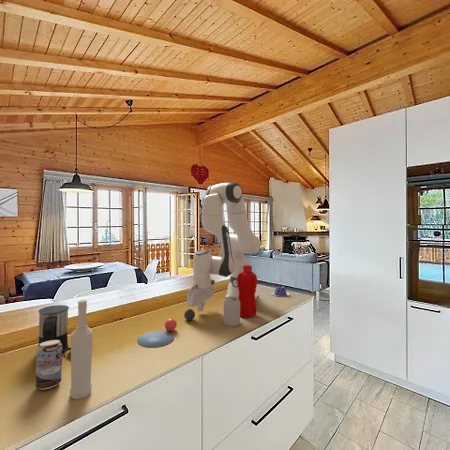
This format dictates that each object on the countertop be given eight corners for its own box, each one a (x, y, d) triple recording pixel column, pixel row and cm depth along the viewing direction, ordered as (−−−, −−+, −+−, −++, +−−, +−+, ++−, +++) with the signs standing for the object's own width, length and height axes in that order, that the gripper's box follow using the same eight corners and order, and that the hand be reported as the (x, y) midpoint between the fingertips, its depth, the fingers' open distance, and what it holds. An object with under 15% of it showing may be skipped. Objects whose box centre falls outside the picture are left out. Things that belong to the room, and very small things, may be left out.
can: (238, 328, 118) (239, 301, 118) (221, 326, 119) (222, 299, 119) (240, 321, 125) (241, 296, 125) (225, 320, 127) (225, 295, 127)
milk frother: (36, 349, 95) (36, 307, 94) (85, 337, 105) (85, 299, 104) (40, 367, 84) (41, 320, 83) (94, 352, 94) (95, 310, 94)
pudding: (293, 297, 170) (293, 288, 170) (276, 298, 166) (276, 289, 166) (283, 291, 182) (284, 284, 181) (267, 292, 178) (268, 285, 178)
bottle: (66, 395, 71) (67, 301, 70) (85, 385, 75) (86, 296, 75) (76, 402, 68) (77, 305, 68) (95, 392, 72) (97, 300, 72)
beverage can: (35, 396, 70) (35, 351, 70) (35, 382, 76) (35, 340, 76) (63, 388, 74) (63, 345, 74) (60, 375, 80) (61, 335, 80)
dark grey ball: (188, 317, 129) (188, 307, 129) (196, 319, 127) (197, 308, 127) (181, 320, 125) (182, 310, 124) (190, 322, 122) (191, 312, 122)
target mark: (154, 328, 115) (154, 328, 115) (181, 336, 108) (181, 335, 108) (129, 341, 102) (129, 341, 102) (157, 350, 96) (157, 350, 96)
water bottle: (247, 320, 127) (249, 268, 126) (233, 313, 136) (234, 264, 135) (261, 317, 132) (263, 266, 132) (247, 310, 141) (248, 263, 141)
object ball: (169, 327, 117) (169, 316, 116) (178, 329, 114) (179, 318, 114) (161, 331, 112) (162, 319, 112) (171, 334, 110) (171, 322, 110)
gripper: (195, 288, 123) (194, 318, 124) (216, 280, 141) (215, 306, 142) (183, 286, 126) (183, 315, 126) (206, 278, 144) (205, 304, 145)
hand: (200, 310), depth 134 cm, fingers closed
